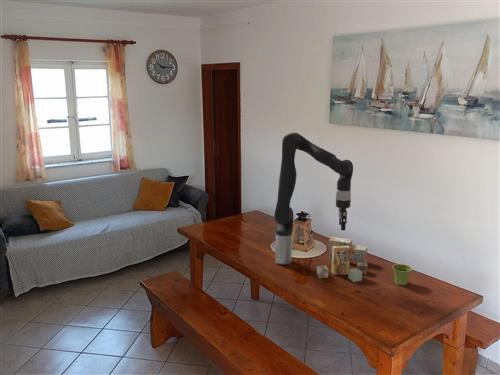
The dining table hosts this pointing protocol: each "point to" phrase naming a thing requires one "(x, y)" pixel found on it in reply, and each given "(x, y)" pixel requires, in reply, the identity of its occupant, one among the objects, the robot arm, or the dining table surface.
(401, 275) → the plant pot
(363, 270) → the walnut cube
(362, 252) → the stack of blocks
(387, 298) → the dining table surface
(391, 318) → the dining table surface
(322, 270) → the birch cube
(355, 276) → the sage cube
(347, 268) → the candy box
